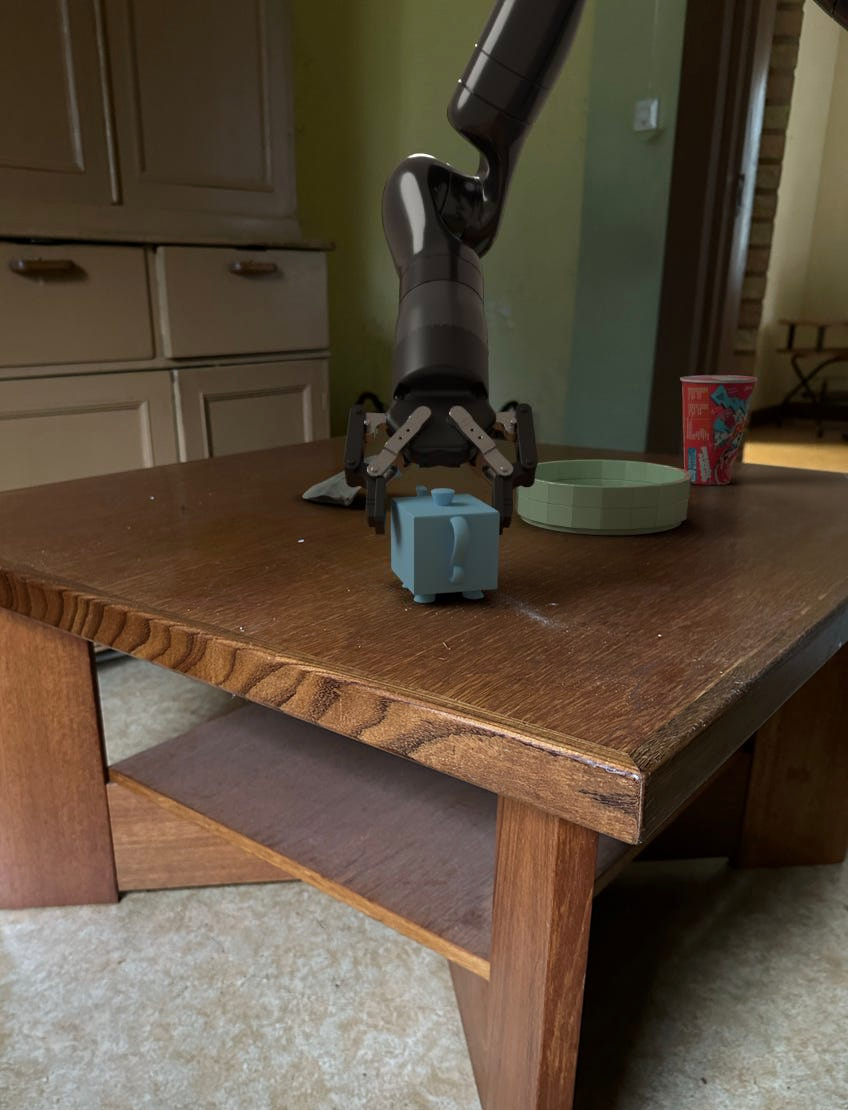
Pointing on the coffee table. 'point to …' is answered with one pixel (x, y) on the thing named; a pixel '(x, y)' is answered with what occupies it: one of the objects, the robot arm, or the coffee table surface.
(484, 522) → the teapot
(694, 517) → the coffee table surface
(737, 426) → the cup
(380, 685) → the coffee table surface
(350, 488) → the stone
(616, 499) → the serving bowl
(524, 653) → the coffee table surface
